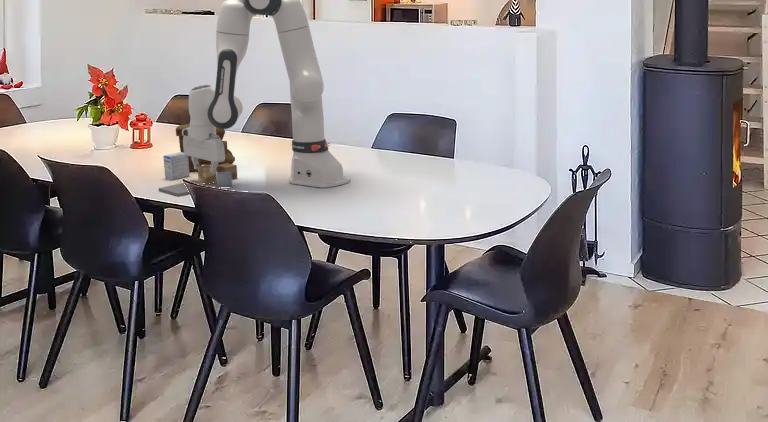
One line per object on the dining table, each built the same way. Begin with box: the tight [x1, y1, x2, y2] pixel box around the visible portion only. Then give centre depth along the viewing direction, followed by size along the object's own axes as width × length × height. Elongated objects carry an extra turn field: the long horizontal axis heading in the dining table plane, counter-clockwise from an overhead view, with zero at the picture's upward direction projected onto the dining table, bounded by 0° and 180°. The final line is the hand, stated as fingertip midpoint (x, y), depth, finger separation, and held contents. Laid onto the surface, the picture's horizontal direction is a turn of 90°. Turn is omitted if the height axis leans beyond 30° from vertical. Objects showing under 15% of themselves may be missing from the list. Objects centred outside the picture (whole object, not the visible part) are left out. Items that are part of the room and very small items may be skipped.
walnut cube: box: [216, 163, 238, 180], centre depth 313 cm, size 5×5×5 cm
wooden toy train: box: [175, 123, 236, 173], centre depth 329 cm, size 20×11×17 cm, turn 91°
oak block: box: [197, 165, 217, 185], centre depth 307 cm, size 4×4×6 cm
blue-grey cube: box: [216, 172, 233, 188], centre depth 300 cm, size 5×5×5 cm
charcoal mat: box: [158, 182, 190, 197], centre depth 297 cm, size 12×11×1 cm
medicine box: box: [163, 151, 190, 181], centre depth 316 cm, size 8×4×9 cm, turn 141°
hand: (205, 171), depth 306 cm, fingers open, 8 cm apart
